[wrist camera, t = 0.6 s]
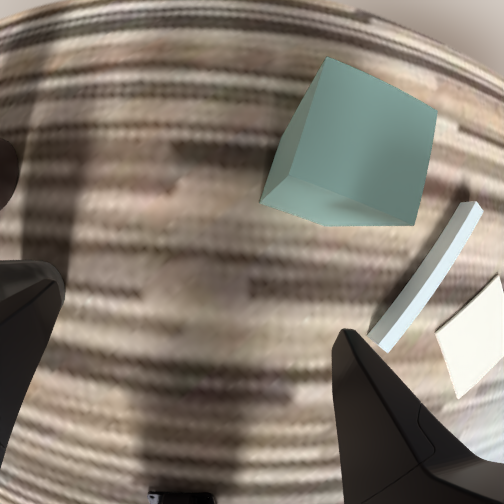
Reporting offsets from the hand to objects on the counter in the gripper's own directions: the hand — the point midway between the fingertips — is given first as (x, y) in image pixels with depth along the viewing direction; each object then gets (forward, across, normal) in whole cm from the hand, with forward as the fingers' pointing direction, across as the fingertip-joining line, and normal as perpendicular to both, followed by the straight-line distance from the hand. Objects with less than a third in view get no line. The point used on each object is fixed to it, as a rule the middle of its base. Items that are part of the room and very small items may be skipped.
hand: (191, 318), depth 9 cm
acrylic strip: (+13, -16, +4) cm, 21 cm away
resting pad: (+10, -25, +9) cm, 29 cm away
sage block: (+15, -5, 0) cm, 16 cm away
